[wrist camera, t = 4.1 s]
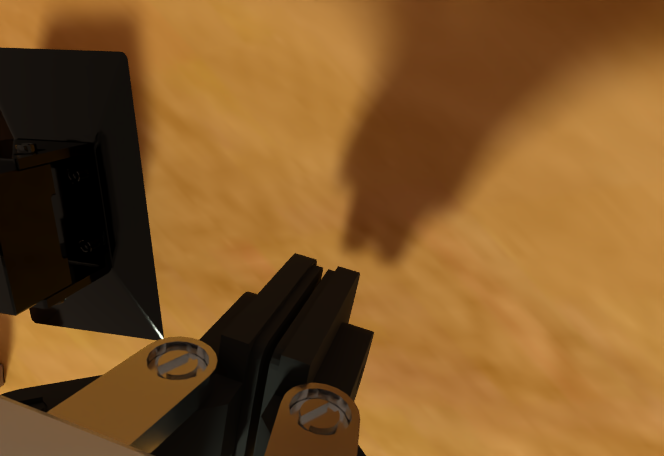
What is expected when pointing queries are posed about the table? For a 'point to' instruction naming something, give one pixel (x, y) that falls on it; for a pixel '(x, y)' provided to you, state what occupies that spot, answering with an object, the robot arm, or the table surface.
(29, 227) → the build plate
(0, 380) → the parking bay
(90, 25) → the table surface
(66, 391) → the robot arm
